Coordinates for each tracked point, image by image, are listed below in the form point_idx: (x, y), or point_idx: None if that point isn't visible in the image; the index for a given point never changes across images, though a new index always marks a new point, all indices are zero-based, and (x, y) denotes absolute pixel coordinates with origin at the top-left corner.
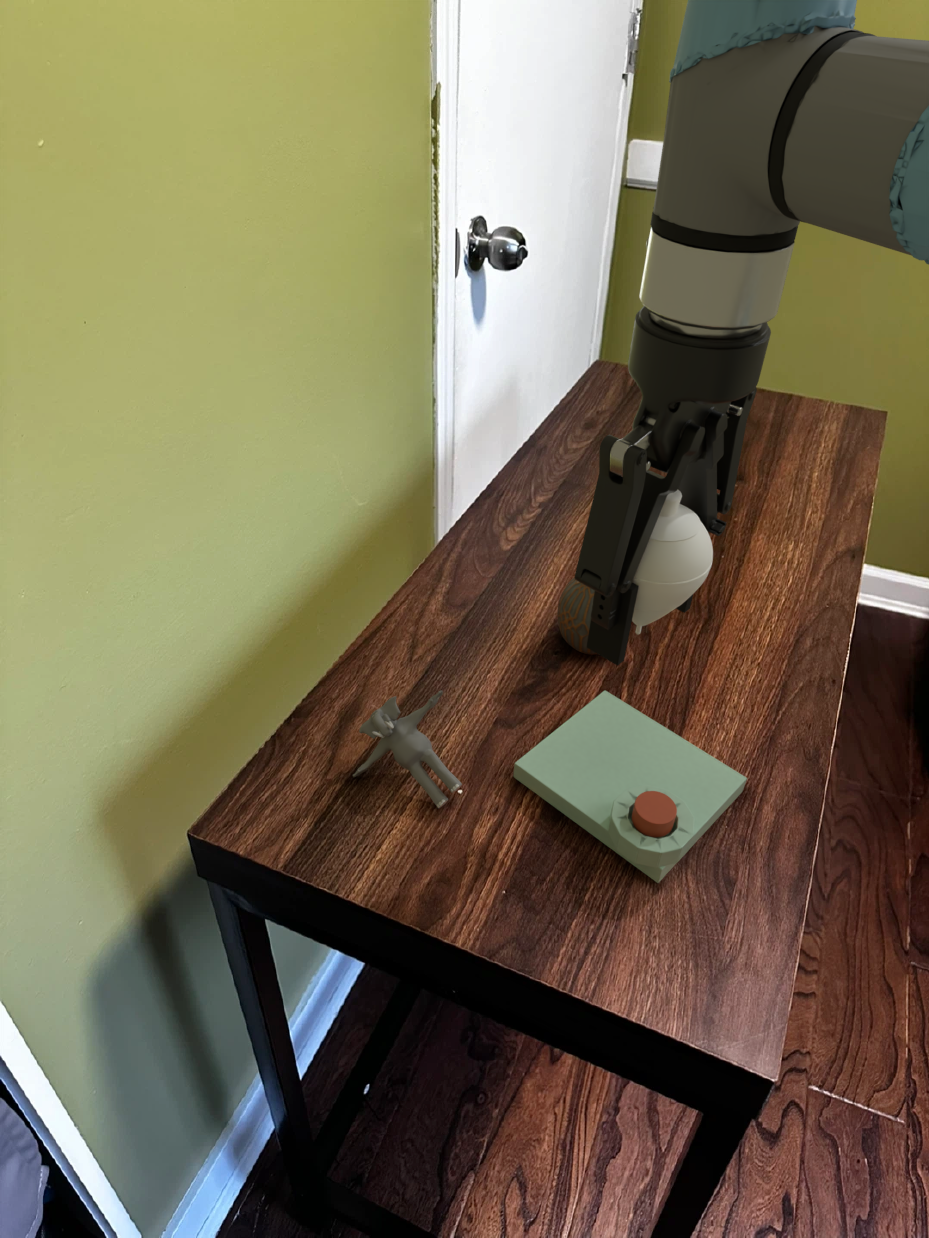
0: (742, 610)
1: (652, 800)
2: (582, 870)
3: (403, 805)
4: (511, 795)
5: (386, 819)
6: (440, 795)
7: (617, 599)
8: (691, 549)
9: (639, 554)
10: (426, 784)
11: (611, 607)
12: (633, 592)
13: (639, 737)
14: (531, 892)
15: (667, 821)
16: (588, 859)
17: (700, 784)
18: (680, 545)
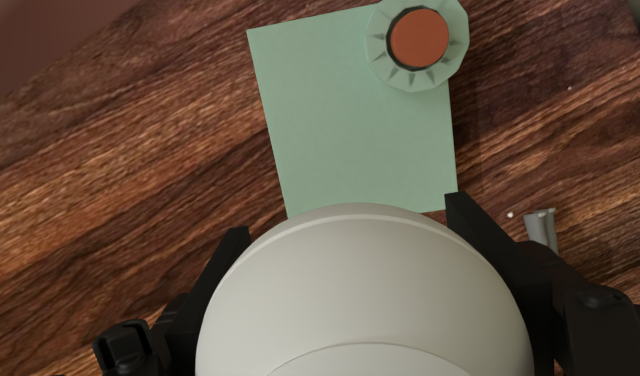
0: (27, 244)
1: (416, 49)
2: (485, 59)
3: (568, 232)
4: (471, 180)
5: (593, 227)
6: (549, 217)
7: (557, 283)
8: (382, 299)
9: (609, 371)
10: (555, 236)
11: (572, 272)
12: (537, 275)
13: (311, 155)
14: (548, 70)
15: (427, 11)
16: (469, 66)
17: (304, 57)
18: (425, 332)
